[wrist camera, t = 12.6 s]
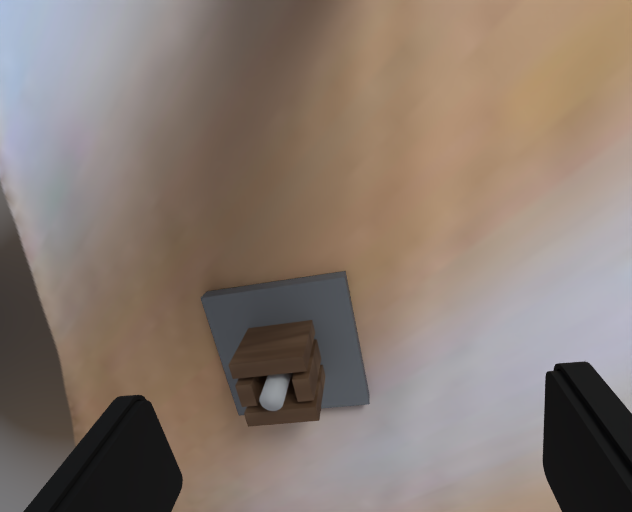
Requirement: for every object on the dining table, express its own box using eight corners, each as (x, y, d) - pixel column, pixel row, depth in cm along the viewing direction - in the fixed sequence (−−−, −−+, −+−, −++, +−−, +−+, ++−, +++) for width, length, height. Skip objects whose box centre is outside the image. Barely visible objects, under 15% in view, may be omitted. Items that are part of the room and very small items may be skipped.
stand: (206, 291, 39) (166, 336, 31) (345, 271, 37) (340, 314, 29) (243, 405, 43) (215, 471, 35) (369, 394, 41) (370, 461, 33)
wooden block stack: (248, 328, 38) (228, 365, 33) (312, 319, 37) (302, 356, 31) (264, 382, 40) (248, 426, 35) (325, 376, 39) (319, 420, 33)
